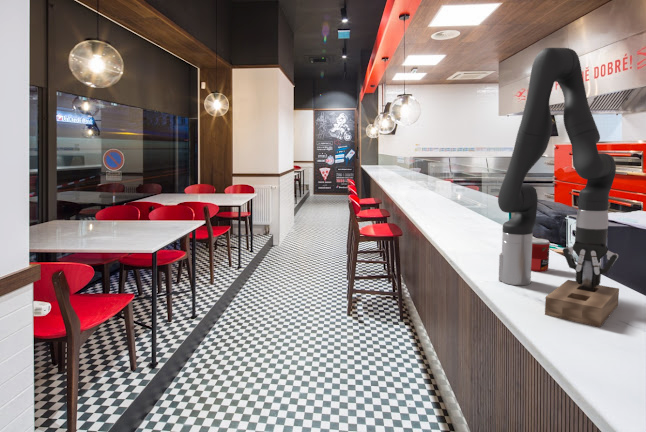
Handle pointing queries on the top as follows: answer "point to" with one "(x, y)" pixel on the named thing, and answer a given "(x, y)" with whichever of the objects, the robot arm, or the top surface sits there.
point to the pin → (587, 276)
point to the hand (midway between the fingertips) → (587, 284)
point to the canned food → (540, 255)
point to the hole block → (582, 303)
